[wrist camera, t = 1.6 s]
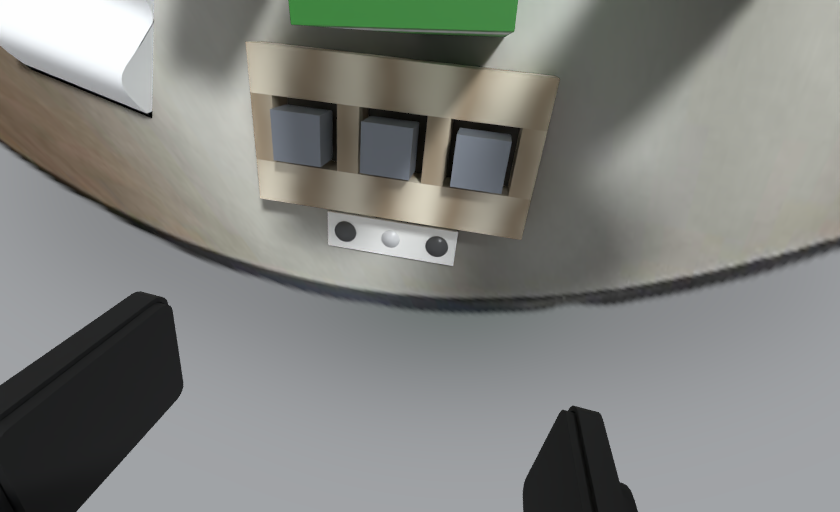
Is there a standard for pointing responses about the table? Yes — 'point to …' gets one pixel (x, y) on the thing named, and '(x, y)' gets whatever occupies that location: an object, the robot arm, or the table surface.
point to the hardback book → (410, 16)
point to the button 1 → (301, 135)
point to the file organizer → (86, 45)
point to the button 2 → (480, 160)
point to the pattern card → (392, 238)
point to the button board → (410, 93)
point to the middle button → (388, 147)
